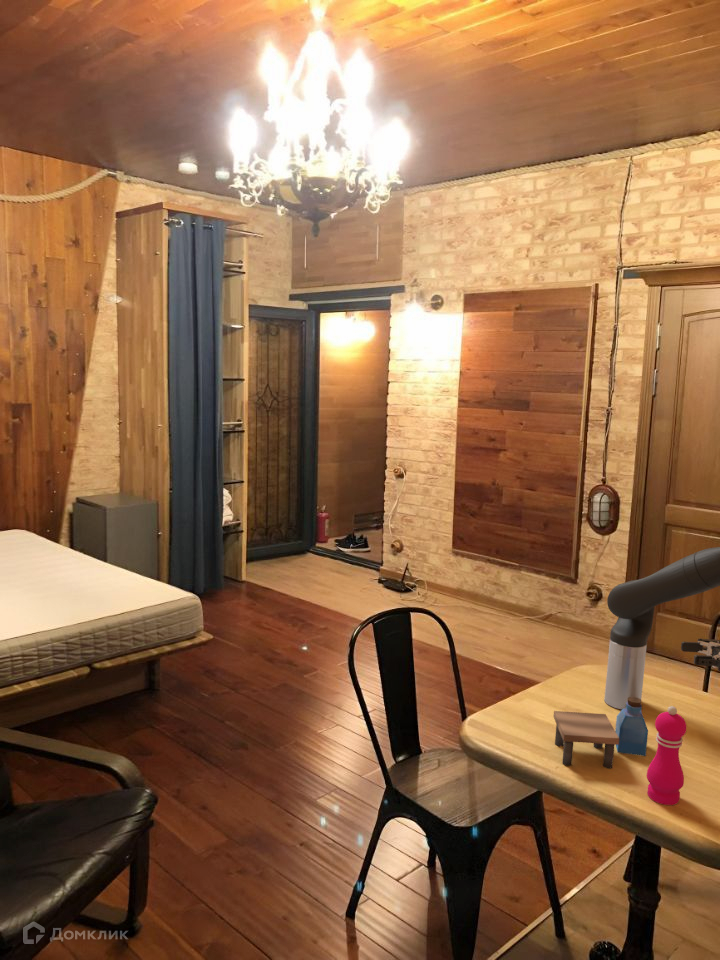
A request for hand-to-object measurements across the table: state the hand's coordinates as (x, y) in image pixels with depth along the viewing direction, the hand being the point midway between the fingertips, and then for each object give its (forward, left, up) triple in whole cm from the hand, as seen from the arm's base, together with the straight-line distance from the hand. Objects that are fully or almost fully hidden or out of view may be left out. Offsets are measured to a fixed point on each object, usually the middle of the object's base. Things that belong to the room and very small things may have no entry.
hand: (687, 653), depth 180 cm
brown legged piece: (+5, -23, -24) cm, 34 cm away
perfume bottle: (0, -11, -24) cm, 27 cm away
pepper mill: (+21, -10, -24) cm, 34 cm away
